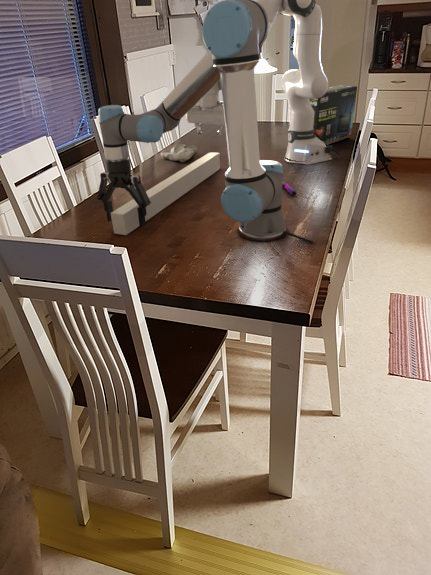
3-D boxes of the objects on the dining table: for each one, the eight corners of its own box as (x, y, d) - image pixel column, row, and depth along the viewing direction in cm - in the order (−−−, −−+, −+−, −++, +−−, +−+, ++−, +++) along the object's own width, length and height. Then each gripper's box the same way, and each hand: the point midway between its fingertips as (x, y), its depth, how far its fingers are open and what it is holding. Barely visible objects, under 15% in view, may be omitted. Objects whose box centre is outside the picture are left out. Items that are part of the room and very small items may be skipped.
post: (126, 235, 151) (123, 214, 148) (113, 233, 153) (110, 212, 149) (220, 168, 212) (219, 152, 208) (210, 167, 213) (209, 152, 210)
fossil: (184, 156, 217) (163, 136, 220) (174, 174, 223) (154, 154, 227) (205, 153, 231) (186, 134, 234) (195, 171, 237) (176, 152, 240)
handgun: (263, 182, 193) (263, 177, 192) (280, 180, 194) (280, 175, 193) (277, 198, 176) (277, 193, 175) (297, 195, 177) (297, 191, 176)
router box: (314, 151, 231) (318, 94, 217) (296, 148, 237) (299, 92, 224) (352, 138, 251) (358, 85, 238) (335, 135, 258) (340, 83, 245)
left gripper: (157, 158, 142) (163, 223, 153) (93, 152, 151) (103, 213, 162) (144, 165, 136) (151, 231, 147) (78, 158, 145) (90, 221, 156)
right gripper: (234, 100, 192) (234, 134, 199) (190, 98, 200) (192, 131, 207) (228, 103, 187) (228, 138, 194) (183, 101, 195) (185, 134, 202)
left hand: (126, 222), depth 155 cm, fingers open, 12 cm apart
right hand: (209, 134), depth 200 cm, fingers open, 8 cm apart
